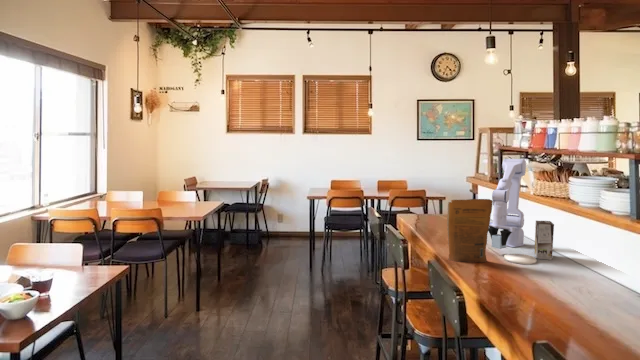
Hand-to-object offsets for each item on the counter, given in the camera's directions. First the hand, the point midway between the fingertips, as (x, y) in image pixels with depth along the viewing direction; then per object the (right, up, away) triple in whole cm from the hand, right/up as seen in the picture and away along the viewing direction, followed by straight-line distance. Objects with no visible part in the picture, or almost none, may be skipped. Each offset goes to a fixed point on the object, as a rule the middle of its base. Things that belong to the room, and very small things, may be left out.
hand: (498, 244), depth 196 cm
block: (0, -2, 0) cm, 2 cm away
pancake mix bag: (-18, -6, -10) cm, 22 cm away
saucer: (+6, -6, -9) cm, 12 cm away
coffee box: (+19, -6, -4) cm, 20 cm away
